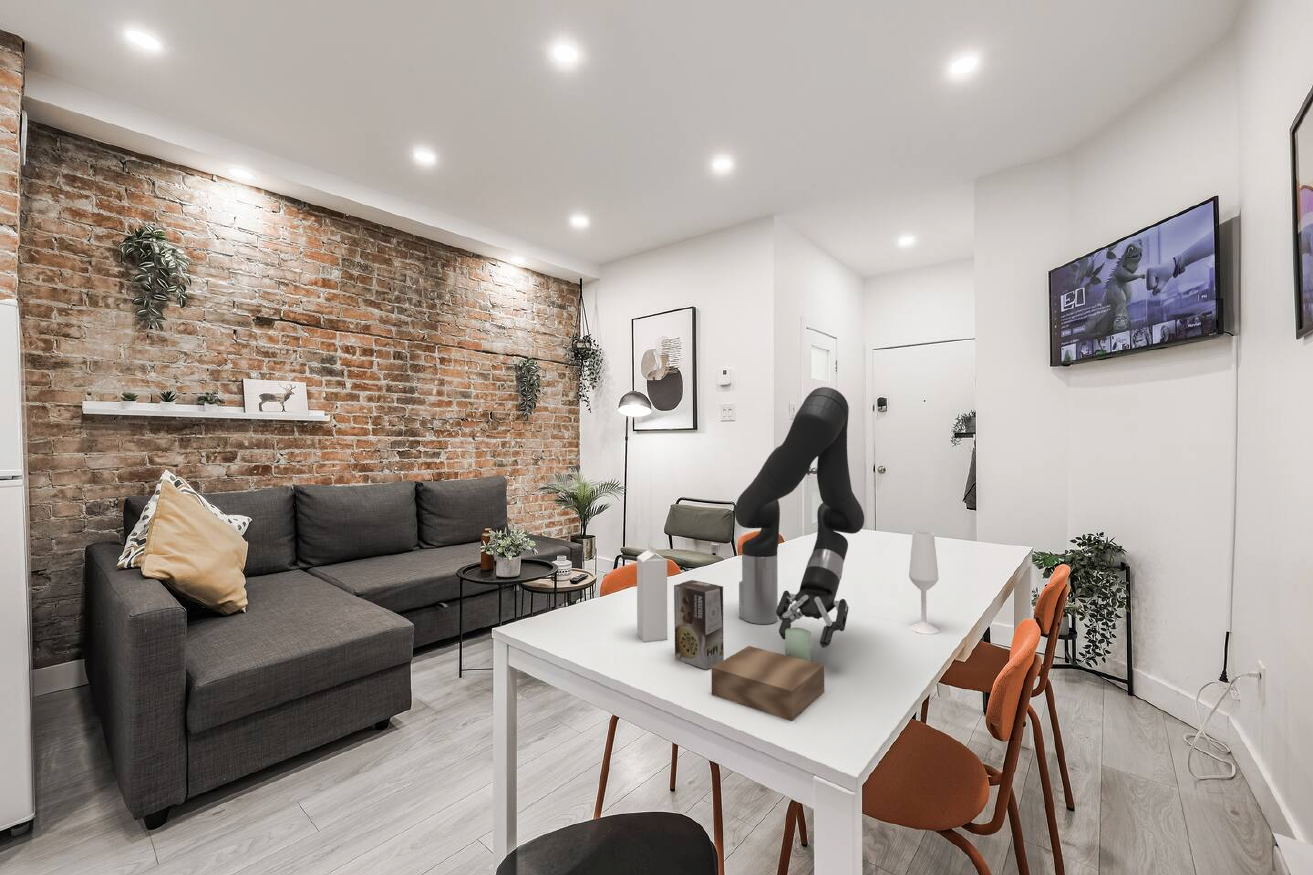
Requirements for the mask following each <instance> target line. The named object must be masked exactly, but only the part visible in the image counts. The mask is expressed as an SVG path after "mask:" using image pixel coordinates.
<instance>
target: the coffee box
mask: <svg viewBox="0 0 1313 875" xmlns="http://www.w3.org/2000/svg"><path fill="white" fill-rule="evenodd" d="M673 608H674V610H673V611H674V612H673V613H674V614H673V615H674V621H673V622H674V660H677V661H680V662H683V663H686V664H688V665H692V666H695V667H698V668H701V669H703V670H708V669H712V667H713V666H715V665H716V664H718V663H720V662H722V661H723V660H725V658H724V656H725V655H724V653H725V652H724V586H723V585H722V586H721V585H718V584H713V583H709V582H704V581H699V580H693V579H691V580H687V581H684V582H681V583H678V584H674V585H673Z"/></svg>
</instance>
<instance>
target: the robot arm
mask: <svg viewBox="0 0 1313 875" xmlns="http://www.w3.org/2000/svg"><path fill="white" fill-rule="evenodd" d="M849 409H850V408H849V403H848V401H847V399H846V398H845V396H844V394H842V392H840V391H838V390H836V389H834V388H832V387H828V386H821V387H817V388H815V389H814V390H812V391H810V393H809V394H808V395H807V396H806V398H805V399H804V401H803V402H802V404H801V406H800V407H799V409H798V411H797V413H796V414H795V416H794V417H793V420H792V422H791V425H790V428H789V430H788V433H787V435H786V437H785V440H784V441H783V442H782V444H781V445H779V446H777V447H776V448H774V450H772V452H771V453H770V454H769V456H768V457H767V458H766V460H765V462H764V463H763V465H762V467H761V468H760V471H759V472H758V473H757V475H756V476H755V478H754V479H753V480H752V482H751V483H750V484H749V485H748V486H747V487H746V488H745V489H744V490H743V492H742V493H741V494H740V495H739V496H738V498H737V501H736V503H735V508H734V517H735V520H736V522H737V524H738V525H739V526H741V527H742V528H744V529H760V531H759V533H757V534H756V535H755V536H753V537H751V538H750V539H747V540H745V541H743V542H742V545H741V573H742V574H741V575H742V576H741V578H742V579H741V581H739V582H738V618H739V619H742V620H744V621H745V622H747V623H752V624H757V625H758V624H759V625H767V624H775V623H777V621H778V620H781V623H780V626H779V628H778V633H779V635H780V638H781V639H782V640H784V641H785V630H786V629H788V628H792V623H794V622H795V621H796V620H800V619H801V618H802V617H806V618H814V619H816V620H820V619H821V618H822V619H823V620H824V622H825V625H824V626H823V628H822V634H821V636H820V640H819V645H820V646H821V648H823V649H827V647H829V646H830V645H831V643H832V639H833V635H834V632H836V631H840V632H844V631H845V629H846V624H847V620H848V614H849V609H850V608H849V605H848V603H847V600H846V599H845V598H840V599H839V600H835V599H836V596H837V593H838V589H839V586H840V582H841V580H842V577H843V569H844V563H845V560H846V555H847V552H848V549H849V541H848V539H847V538H846V537H845V536H844V535H842V534H841V533H843V534H850V535H851V534H857V533H859V532H860V531H861V530H862V528H863V527H864V524H865V513H864V511H863V507H862V505H861V503H860V502H859V500H858V499H857V498H856V496H855V494H854V492H853V488H852V484H851V483H852V482H851V476H850V470H849V468H850V467H849V460H848V426H849V424H848V423H849V414H850V413H849V412H850V410H849ZM816 459H817V460H816ZM815 460H816V461H817V462H816V463H817V464H816V480H817V486H818V491H819V496H820V500H821V501H822V503H821V504H819V506H818V507H817V513H816V514H817V515H816V517H817V518H816V519H817V520H816V521H817V532H816V533H817V535H816V540H815V543H814V546H813V549H812V551H811V552H812V553H811V555H810V557H809V558H808V561H807V564H806V568H805V570H804V573H803V577H802V580H801V581H800V582H801V583H800V586H799V591H798V592H797V593H796V594H795V593H790V592H789V590H784V591H783V592H782V596H781V597H780V600H779V598H778V595H779V594H778V589H779V588H778V579H779V578H778V548H779V543H780V540H779V539H780V538H779V537H780V521H781V520H780V518H781V517H780V516H781V511H780V510H781V508H780V502H779V499H782V498H784V497H786V496H788V495H789V494H791V493H792V492H794V490H795V489H796V488H797V487H798V486H799V485H800V484H801V482H802V481H803V480H804V478H805V476H807V474H808V472H809V469H810V467H811V465H812V464H813V462H814V461H815ZM778 600H779V601H778ZM794 602H795V603H794ZM833 609H836V611H837V612H836V617H835V621H832V619H831V618H830V616H829V613H830V612H831V611H832V610H833ZM778 618H779V619H778Z"/></svg>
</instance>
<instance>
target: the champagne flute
mask: <svg viewBox="0 0 1313 875" xmlns="http://www.w3.org/2000/svg"><path fill="white" fill-rule="evenodd" d="M908 577H909V579H910V581H911V583H912V584H913V585H914V586H915V587H916V588H918V590H920V598H921V600H920V603H921V604H920V610H921V613H920V615H921V616H920V617H921V618H920V619H921V620H920V621H919V622H917V623H915V624H911V625H910V626H909V630H911V631H913V632H915V633H919V634H924V635H925V634H926V635H927V634H928V635H934V634H938V633H939V632H940V631H939V629H937V628H936V627H934V626H933V625H931V624H930V622H927V591H928V590H930V589H932V588H933V587H934V586H936V584H937V583H938V581H939V578H940V577H939V568H938V560H937V550H936V540H935V533H934V532H932V531H918V530H917V531H912V538H911V550H910V560H909V571H908Z"/></svg>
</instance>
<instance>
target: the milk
mask: <svg viewBox="0 0 1313 875" xmlns="http://www.w3.org/2000/svg"><path fill="white" fill-rule="evenodd" d="M647 547H648V548H647V550H645V551H644V552H642V553H641V554H639V555H638V556H636V625H637V626H636V634H637V636H638V637H639V638H640V640H642V642H643V643H650V642H658V641H666V640H668V559H666V558H665V557H663V556H662V555H659V554H658V553H657V552H656V547H655V546H654V545H652V544H650V543H648V546H647Z"/></svg>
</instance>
